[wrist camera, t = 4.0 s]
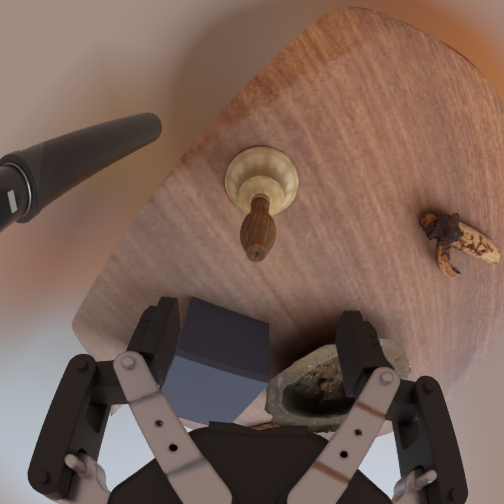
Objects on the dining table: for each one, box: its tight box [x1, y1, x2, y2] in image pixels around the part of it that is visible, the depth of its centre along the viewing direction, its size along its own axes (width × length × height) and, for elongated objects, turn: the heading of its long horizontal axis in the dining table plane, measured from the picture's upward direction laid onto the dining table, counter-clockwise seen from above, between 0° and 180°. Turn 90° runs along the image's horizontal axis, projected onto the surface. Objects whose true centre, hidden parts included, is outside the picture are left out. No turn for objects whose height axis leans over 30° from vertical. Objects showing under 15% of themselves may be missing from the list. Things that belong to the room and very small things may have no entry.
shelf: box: [159, 297, 269, 425], centre depth 41 cm, size 12×16×11 cm
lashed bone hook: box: [419, 213, 501, 277], centre depth 34 cm, size 9×5×18 cm
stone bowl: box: [264, 338, 411, 433], centre depth 45 cm, size 25×25×9 cm
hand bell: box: [225, 146, 299, 262], centre depth 26 cm, size 8×8×16 cm
